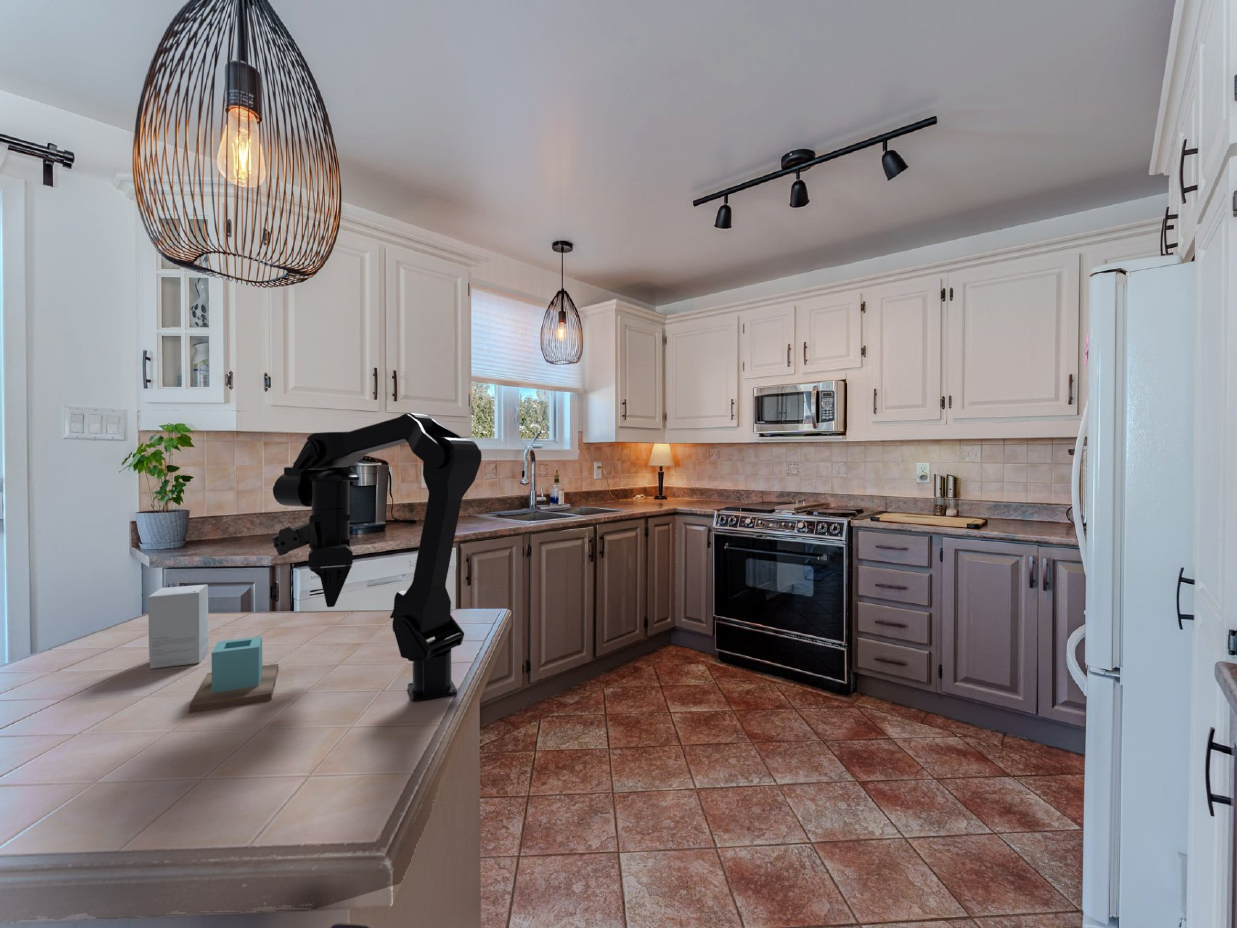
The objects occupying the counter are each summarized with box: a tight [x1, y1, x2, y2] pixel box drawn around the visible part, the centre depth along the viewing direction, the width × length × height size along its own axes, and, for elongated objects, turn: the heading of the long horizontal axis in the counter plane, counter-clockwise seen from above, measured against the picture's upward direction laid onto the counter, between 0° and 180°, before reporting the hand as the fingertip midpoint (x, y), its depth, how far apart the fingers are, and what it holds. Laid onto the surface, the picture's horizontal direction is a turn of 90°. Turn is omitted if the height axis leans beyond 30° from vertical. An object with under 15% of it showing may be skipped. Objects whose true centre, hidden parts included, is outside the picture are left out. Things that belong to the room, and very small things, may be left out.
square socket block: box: [211, 636, 263, 693], centre depth 91 cm, size 6×6×6 cm
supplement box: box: [147, 584, 210, 670], centre depth 104 cm, size 7×7×13 cm
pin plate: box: [188, 663, 279, 713], centre depth 91 cm, size 14×10×5 cm
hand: (330, 600), depth 99 cm, fingers open, 9 cm apart
